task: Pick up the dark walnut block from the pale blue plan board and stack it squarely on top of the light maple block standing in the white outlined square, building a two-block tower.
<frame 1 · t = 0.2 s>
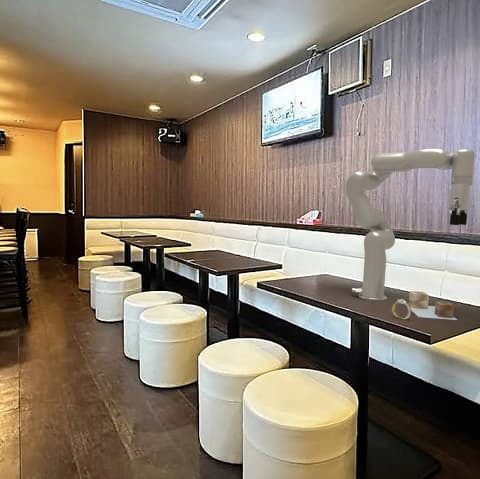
hand: (458, 224, 157), 36 cm above the table, tool pointing down, fingers open, 9 cm apart
base block: (418, 306, 167), point 1 cm above the table, touching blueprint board
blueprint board: (429, 313, 160), on the table
walnut block: (443, 315, 154), point 1 cm above the table, touching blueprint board
bracelet: (400, 320, 149), on the table
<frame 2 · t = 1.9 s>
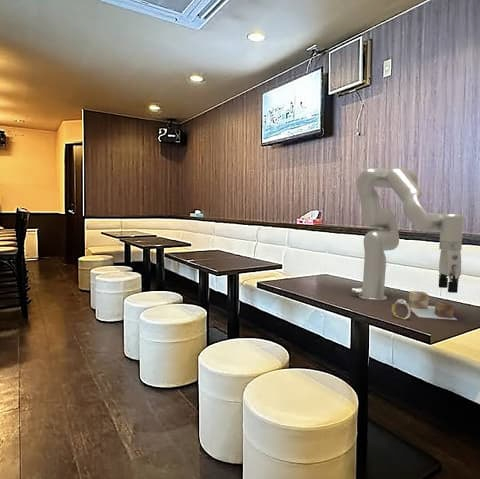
hand: (447, 289, 152), 11 cm above the table, tool pointing down, fingers open, 9 cm apart
nothing on the table moved.
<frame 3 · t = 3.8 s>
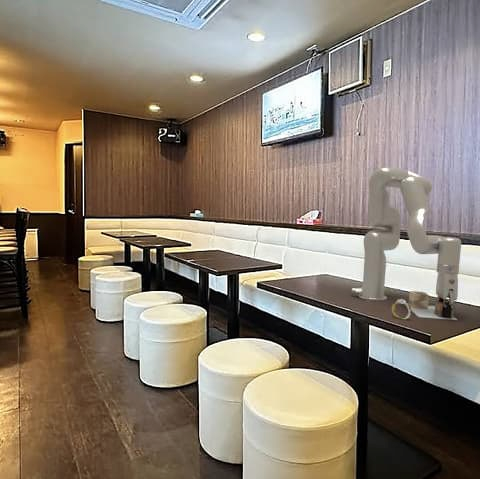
hand: (443, 314, 154), 1 cm above the table, tool pointing down, fingers closed on walnut block, 5 cm apart
walnut block: (443, 315, 154), point 1 cm above the table, touching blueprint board, gripper
everything else where it was.
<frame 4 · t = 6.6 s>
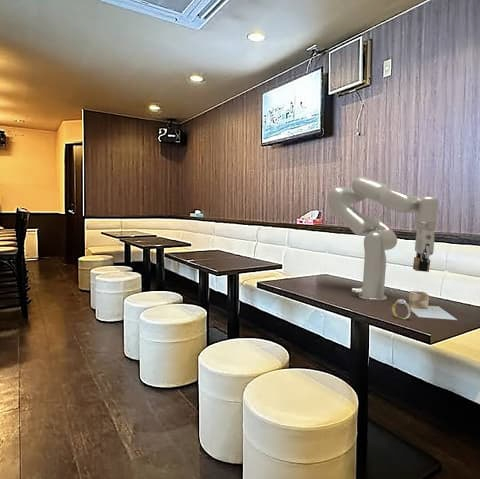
hand: (420, 269, 165), 17 cm above the table, tool pointing down, fingers closed on walnut block, 5 cm apart
walnut block: (420, 270, 165), point 17 cm above the table, touching gripper
everything else where it was.
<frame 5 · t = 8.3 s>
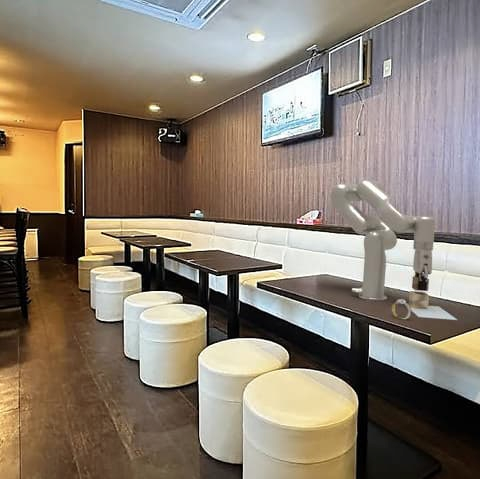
hand: (419, 288, 166), 9 cm above the table, tool pointing down, fingers closed on walnut block, 5 cm apart
walnut block: (419, 289, 166), point 8 cm above the table, touching gripper
everything else where it was.
when the fingers open (8 cm above the table, at t = 9.4 s): walnut block drops 1 cm, resting on base block.
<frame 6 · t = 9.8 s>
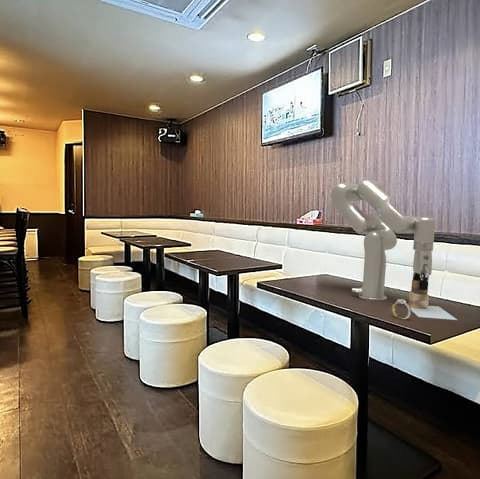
hand: (419, 287, 166), 9 cm above the table, tool pointing down, fingers open, 8 cm apart
base block: (418, 306, 167), point 1 cm above the table, touching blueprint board, walnut block
walnut block: (419, 292, 166), point 7 cm above the table, touching base block
everything else where it was.
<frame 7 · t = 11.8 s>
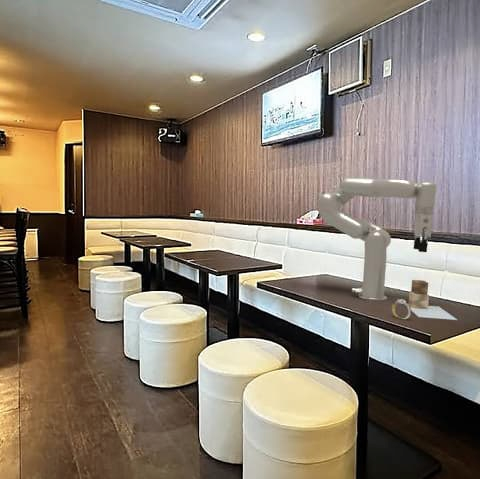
hand: (419, 250, 171), 24 cm above the table, tool pointing down, fingers open, 9 cm apart
nothing on the table moved.
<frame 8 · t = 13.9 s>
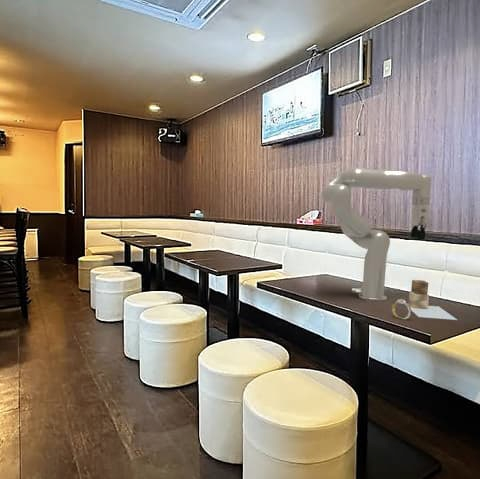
hand: (417, 238, 185), 28 cm above the table, tool pointing down, fingers open, 9 cm apart
nothing on the table moved.
at the end: walnut block 0.0 cm off-centre on the base block, point 6.0 cm above the base block's base; walnut block tilted 0°; base block moved 0.0 cm from its start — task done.
